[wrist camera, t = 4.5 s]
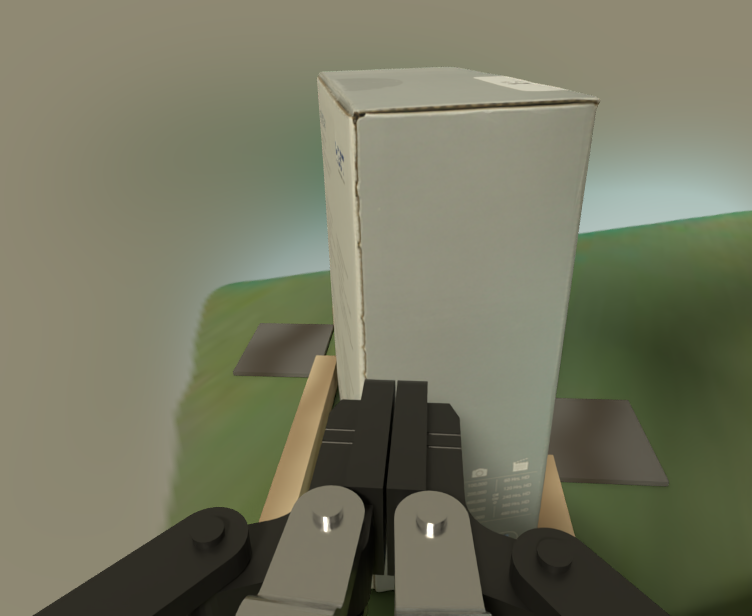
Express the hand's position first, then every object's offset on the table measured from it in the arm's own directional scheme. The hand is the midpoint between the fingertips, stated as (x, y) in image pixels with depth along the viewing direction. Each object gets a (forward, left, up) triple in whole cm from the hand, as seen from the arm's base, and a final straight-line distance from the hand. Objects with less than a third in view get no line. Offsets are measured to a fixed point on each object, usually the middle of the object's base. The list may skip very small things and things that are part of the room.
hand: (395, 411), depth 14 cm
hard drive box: (0, -13, -14) cm, 19 cm away
